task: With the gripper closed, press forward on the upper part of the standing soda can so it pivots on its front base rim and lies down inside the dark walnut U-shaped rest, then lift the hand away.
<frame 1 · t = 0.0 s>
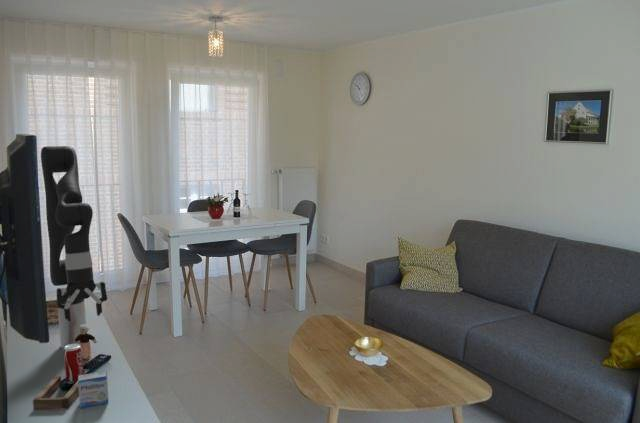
hand: (83, 317, 162), 22 cm above the table, tool pointing down, fingers open, 8 cm apart
grandmother figurine: (86, 358, 184), on the table
u rest: (61, 396, 158), on the table
medicine box: (94, 403, 154), on the table
soda can: (75, 381, 167), on the table
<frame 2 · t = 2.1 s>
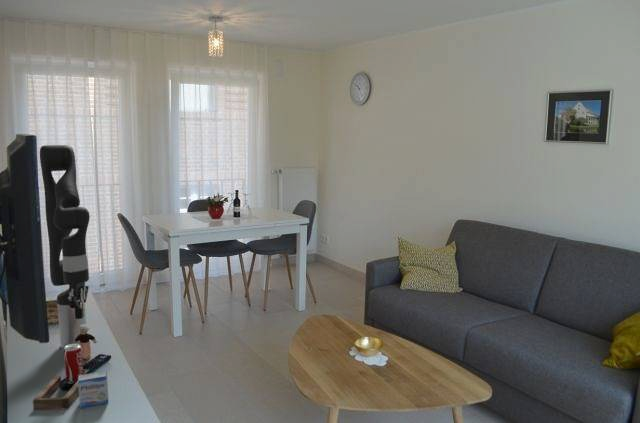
hand: (79, 318, 171), 19 cm above the table, tool pointing down, fingers closed
nothing on the table moved.
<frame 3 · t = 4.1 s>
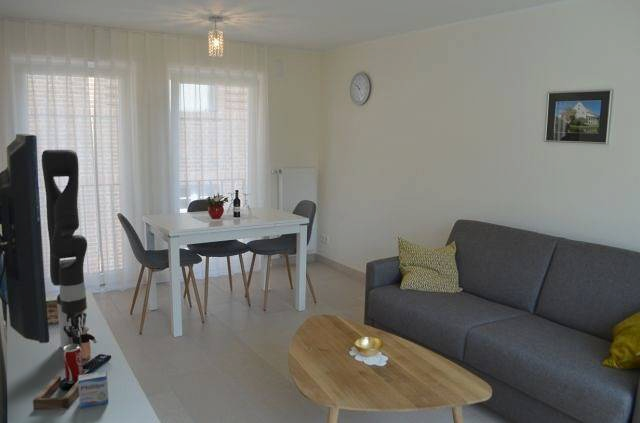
hand: (77, 346, 169), 10 cm above the table, tool pointing down, fingers closed
soda can: (75, 381, 167), on the table, touching gripper
everything else where it was.
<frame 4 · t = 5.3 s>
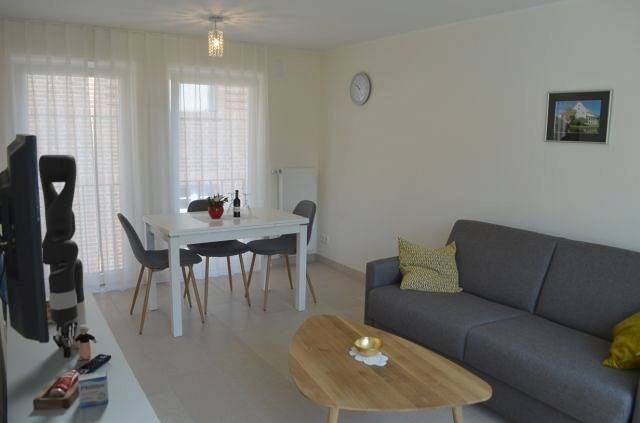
hand: (67, 356, 162), 10 cm above the table, tool pointing down, fingers closed
soda can: (73, 376, 165), point 3 cm above the table, touching u rest
everything else where it was.
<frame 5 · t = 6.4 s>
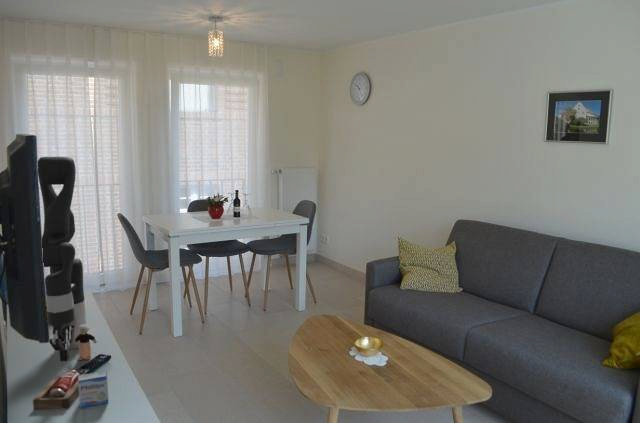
hand: (64, 360, 160), 10 cm above the table, tool pointing down, fingers closed
nothing on the table moved.
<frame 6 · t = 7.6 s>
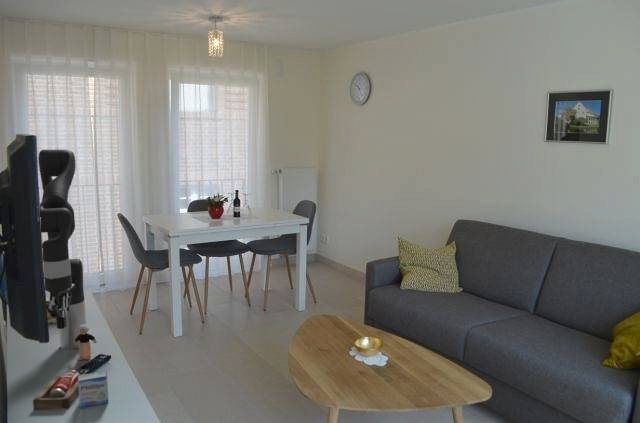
hand: (61, 327, 158), 21 cm above the table, tool pointing down, fingers closed
nothing on the table moved.
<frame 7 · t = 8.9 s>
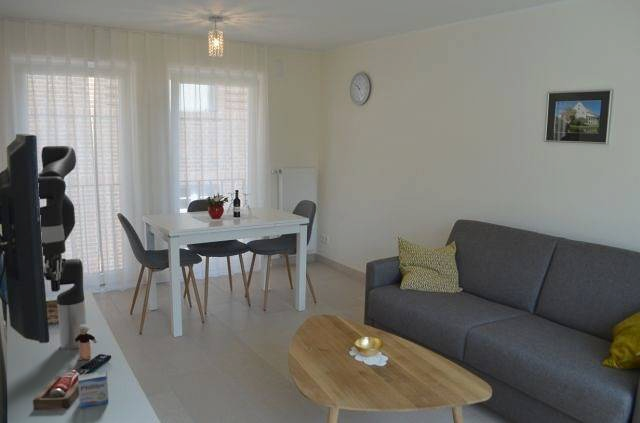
hand: (55, 290, 167), 29 cm above the table, tool pointing down, fingers closed
nothing on the table moved.
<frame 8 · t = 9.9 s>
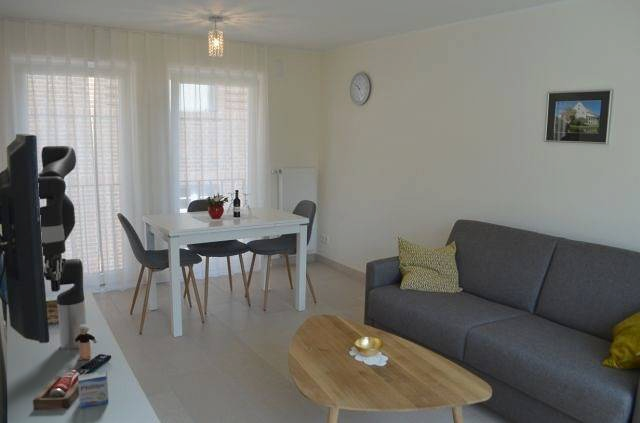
hand: (55, 290, 167), 29 cm above the table, tool pointing down, fingers closed
nothing on the table moved.
at the end: soda can tilted 90°; soda can inside the target area (2.2 cm from its centre), point 2.6 cm above the table; the gripper is holding nothing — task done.
